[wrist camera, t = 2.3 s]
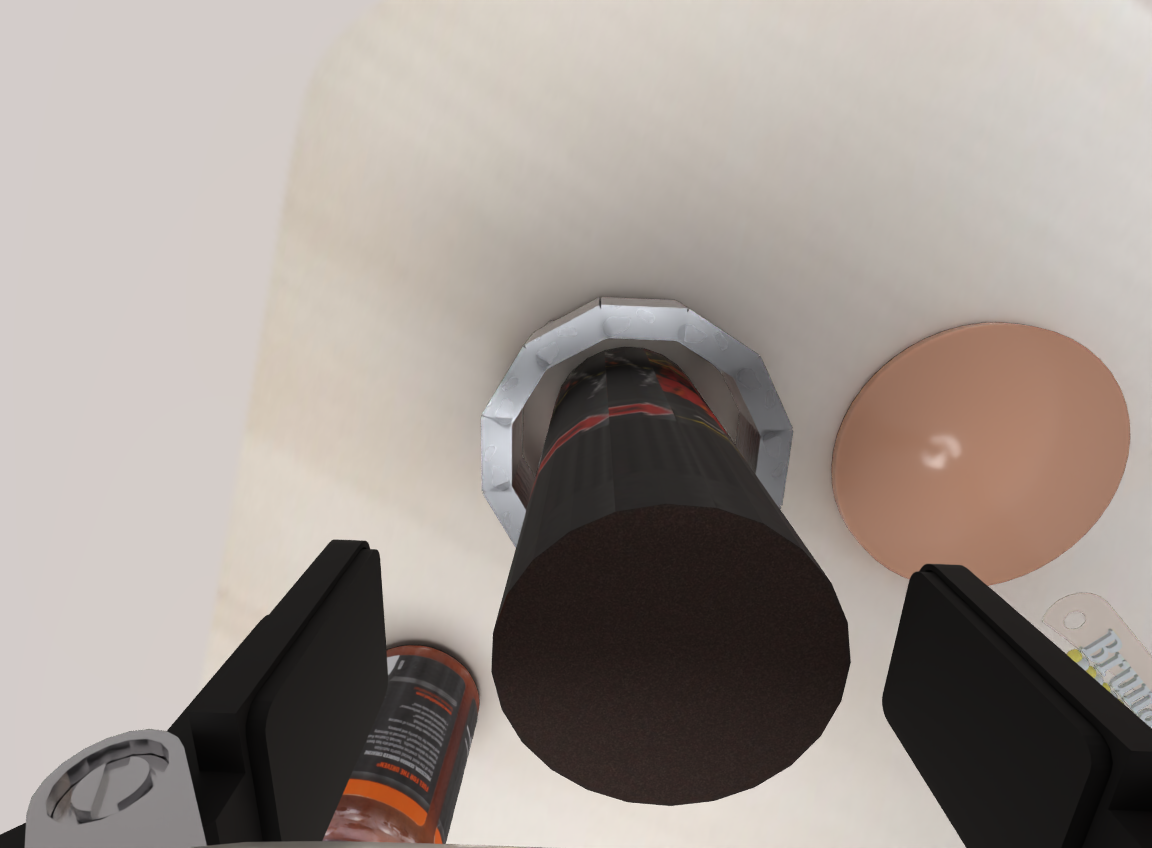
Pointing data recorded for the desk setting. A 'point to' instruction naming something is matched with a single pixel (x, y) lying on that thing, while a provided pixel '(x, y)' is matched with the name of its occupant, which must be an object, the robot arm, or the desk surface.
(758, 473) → the ring stand
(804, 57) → the desk surface
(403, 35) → the desk surface
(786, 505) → the desk surface
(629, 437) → the deodorant
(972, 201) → the desk surface
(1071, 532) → the coaster
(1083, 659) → the keychain
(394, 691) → the supplement bottle
